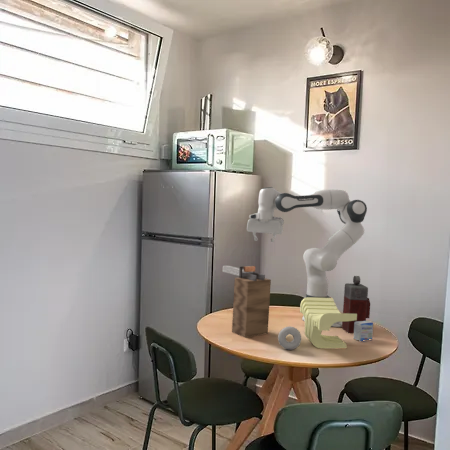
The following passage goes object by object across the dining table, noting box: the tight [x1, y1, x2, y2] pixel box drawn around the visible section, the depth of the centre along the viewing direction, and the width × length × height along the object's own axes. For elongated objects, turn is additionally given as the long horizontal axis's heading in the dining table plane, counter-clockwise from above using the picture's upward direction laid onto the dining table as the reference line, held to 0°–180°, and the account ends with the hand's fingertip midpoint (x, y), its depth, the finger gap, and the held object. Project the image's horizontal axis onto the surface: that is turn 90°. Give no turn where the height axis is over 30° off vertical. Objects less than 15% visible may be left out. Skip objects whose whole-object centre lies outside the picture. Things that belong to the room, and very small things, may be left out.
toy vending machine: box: [341, 275, 371, 334], centre depth 226 cm, size 9×11×28 cm
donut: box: [277, 325, 302, 351], centre depth 192 cm, size 10×3×10 cm, turn 89°
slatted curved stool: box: [299, 297, 357, 349], centre depth 203 cm, size 30×16×18 cm, turn 6°
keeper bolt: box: [221, 265, 256, 277], centre depth 222 cm, size 20×6×5 cm, turn 37°
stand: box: [231, 265, 272, 338], centre depth 213 cm, size 10×14×31 cm
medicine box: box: [353, 320, 374, 342], centre depth 212 cm, size 8×4×9 cm, turn 117°
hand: (264, 241), depth 248 cm, fingers open, 8 cm apart
